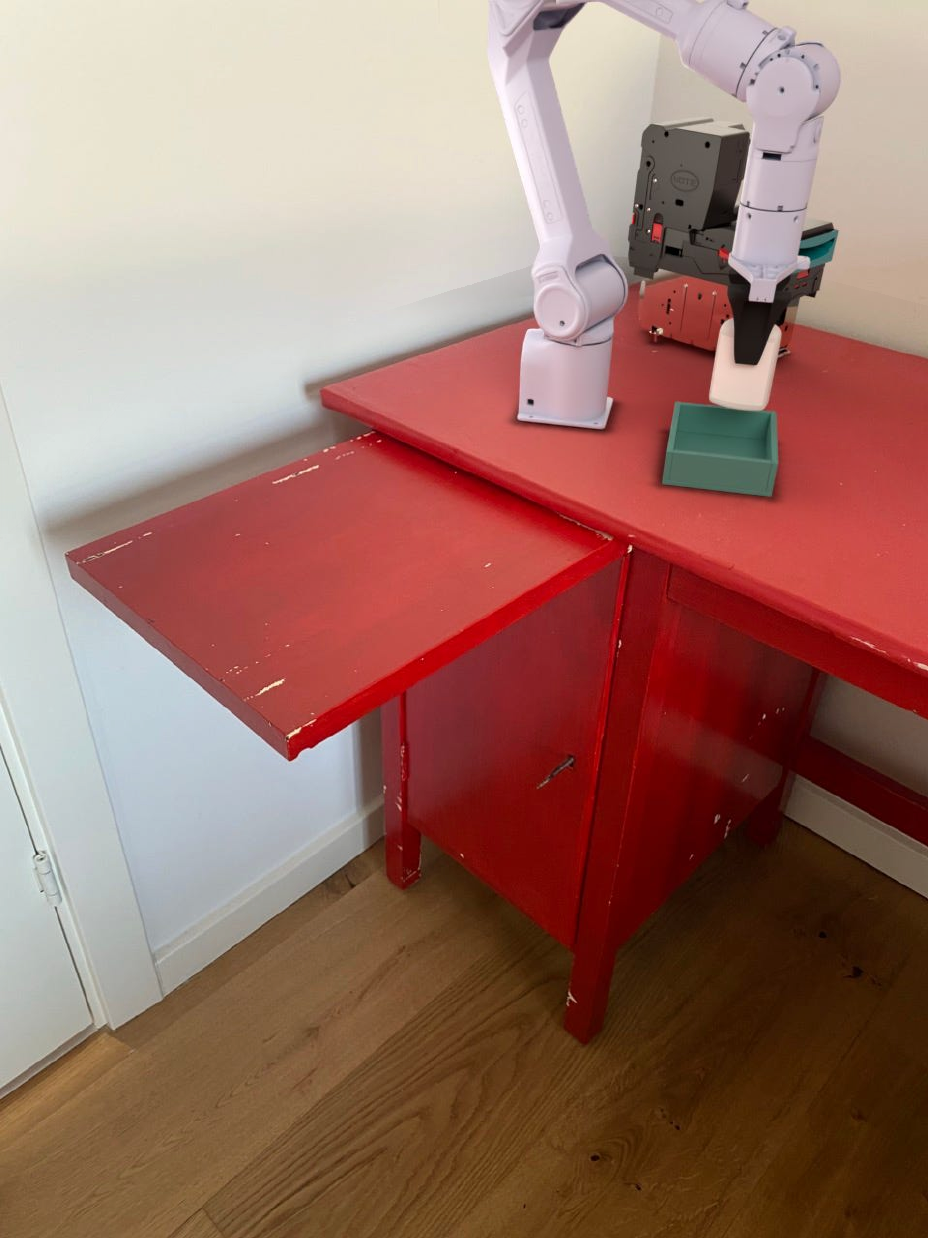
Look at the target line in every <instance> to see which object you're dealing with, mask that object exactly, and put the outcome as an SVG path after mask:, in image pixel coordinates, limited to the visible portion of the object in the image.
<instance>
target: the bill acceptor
mask: <svg viewBox="0 0 928 1238" xmlns="http://www.w3.org/2000/svg"><path fill="white" fill-rule="evenodd" d="M750 143H751V133H750V130H746V128H745V126H744V124H743V123H740V122H735V121H728V120H719V121H715V120H714V118H712V117H707V116H702V115H700V116H694V117H687V118H680V119H674V120H667V121H661V122H655V123H650V124H649V125H648V126H647V127H646V128H645V129H643V132H642V134H641V140H640V147H641V151H640V152H641V153H640V160H639V168H638V170H637V173H636V179H635V180H636V182H635V191H634V199H633V206H632V213H633V214H631V215H632V216H631V217H632V218H631V223H630V224H629V225H628V233H627V235H628V236H627V241H628V253H627V257H628V265H629V267H630V268H633V275H634V276H638V277H641V278H644V280H642V281H641V282H640V289H639V299H638V305H637V315H636V316H637V317H638V318H639V321H638V323H639V328H640V329H644V330H647V331H649V334H650V335H654V336H653V342H655V343H657V342H658V337H660V336H661V337H664V338H668V339H672V340H674V341H677V342H680V343H684V344H687V345H693V346H695V347H698V348H701V349H703V350H707V351H711V352H715V353H716V350H717V344H718V338H719V333H720V329H721V327H722V325H723V324H724V323H725V322H726V321H727V320H729V319H732V318H733V313H732V309H731V305H730V302H729V299H728V296H727V287H728V284H731V283H730V280H729V277H728V270H729V269H731V268H732V267H731V266H730V265H729V263H728V259H729V254H730V253H731V252H732V249H733V243H734V237H735V231H736V224H737V218H738V212H739V205H740V200H738V196H739V193H740V190H741V187H742V182H743V181H744V175H745V169H746V163H747V157H748V151H749V146H750ZM839 231H840V230H839V229H836V228H835V227H834V223H833V222H831V221H827V220H823V219H822V220H821V219H816V218H811V217H806V216H805V221H804V226H803V231H802V236H801V241H800V246H799V251H798V256H806V257H809V258H810V266H809V269H807V270H799V269H798V270H795V271H794V272H793V273H791V274H790V275H791V278H790V281H789V282H788V284H787V285H786V286H785V288H784V289H783V291H784V292H792V299H791V301H790V303H789V305H788V306H787V307H786V308H785V310H784V311H783V312H782V314H781V315H780V317H779V318H778V320H777V321H776V323H775V325H777V326H778V327H779V328H780V330H781V341H780V347H779V352H778V357H777V360H778V359H780V358H782V357H784V356H787V355H789V354H791V351H790V350H788V349H787V347H788V346H789V344H790V343H791V340H792V339H793V338H792V337H793V333H794V328H795V323H796V319H797V314H798V309H799V304H800V301H801V300H800V299H801V298H802V297H805V296H806V297H809V298H815V299H816V297H817V292H818V291H821V290H820V288H821V285H822V279H823V277H824V276H823V275H824V270H825V267H826V263H830V262H832V261H833V257H834V253H835V249H836V245H837V240H838V236H839Z"/></svg>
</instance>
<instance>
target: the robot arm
mask: <svg viewBox="0 0 928 1238" xmlns="http://www.w3.org/2000/svg"><path fill="white" fill-rule="evenodd" d="M487 2H488V20H487V21H488V23H487V24H488V26H487V42H486V43H487V44H486V46H487V47H486V55H487V62H488V66H489V67H488V68H489V70H490V74H491V77H492V82H493V84H494V88H495V92H496V95H497V98H498V102H499V107H500V109H501V113H502V117H503V119H504V123H505V127H506V131H507V134H508V138H509V141H510V145H511V148H512V151H513V155H514V159H515V162H516V166H517V170H518V173H519V177H520V180H521V184H522V187H523V191H524V194H525V198H526V202H527V205H528V208H529V211H530V216H531V220H532V223H533V227H534V230H535V233H536V237H537V241H538V245H539V249H538V252H537V255H536V258H535V260H534V262H533V265H532V268H531V272H530V275H531V279H532V282H533V288H534V295H533V304H532V305H533V315H534V318H535V320H536V323H537V325H538V326H539V328H528V329H527V330H526V332H525V335H524V339H523V341H522V349H521V350H522V351H521V357H520V373H519V374H520V375H519V399H518V414H517V420H518V421H520V422H530V423H538V424H547V425H548V424H549V425H557V426H567V427H575V428H585V429H593V430H594V429H595V430H604V429H605V428H606V426H607V422H608V420H609V416H610V413H611V410H612V407H613V403H614V399H613V398H612V397H610V396H608V391H609V382H610V370H611V361H612V352H613V351H612V350H613V342H614V331H615V330H614V329H615V328H614V326H615V325H614V324H615V316H617V315H618V314H619V313H620V312H621V311H622V310H623V309H624V308H625V305H626V303H627V300H628V297H629V284H628V280H627V277H626V275H625V273H624V271H623V269H622V268H621V267H620V266H619V265H618V263H617V262H616V260H615V259H614V256H613V254H612V251H611V247H610V243H609V242H608V241H607V240H606V239H605V238H604V237H603V236H601V235H600V234H599V233H598V232H597V231H596V230H595V229H594V228H593V226H592V222H591V218H590V215H589V210H588V207H587V202H586V199H585V194H584V190H583V187H582V183H581V180H580V175H579V172H578V168H577V165H576V161H575V157H574V153H573V149H572V145H571V141H570V138H569V134H568V130H567V126H566V121H565V118H564V114H563V111H562V107H561V104H560V98H559V95H558V91H557V88H556V84H555V79H554V76H553V72H552V68H551V65H550V58H551V55H552V53H553V51H554V49H555V47H556V45H557V43H558V41H559V39H560V37H561V35H562V33H563V31H564V30H565V29H566V28H567V27H568V26H569V24H571V22H572V21H573V20H574V19H575V18H576V16H577V15H578V14H579V13H581V11H582V10H583V9H584V7H586V5H587V4H588V3H602V4H604V5H606V6H608V7H609V8H612V9H614V10H615V11H617V12H618V13H621V14H623V15H624V16H626V17H628V18H630V19H632V20H633V21H636V22H638V23H639V24H641V25H642V26H643V25H644V26H645V27H647V28H649V29H651V30H653V31H654V32H656V33H658V34H660V35H662V36H664V37H666V38H668V39H669V40H671V41H673V42H675V43H676V45H677V49H678V54H679V58H680V62H681V64H682V66H683V67H684V68H686V69H687V70H689V71H691V72H692V73H694V74H695V75H697V76H699V77H700V78H701V79H704V80H706V81H707V82H708V83H711V84H712V85H713V86H715V87H717V88H719V89H720V90H722V91H723V92H725V93H726V94H728V95H730V96H732V97H733V98H734V99H737V100H738V101H740V102H742V103H746V105H747V109H748V112H749V114H750V115H751V117H752V120H753V125H752V132H751V135H750V140H751V143H750V146H749V151H748V157H747V163H746V169H745V175H744V179H743V181H742V182H743V183H742V188H741V193H740V200H739V201H740V205H739V212H738V218H737V224H736V231H735V237H734V243H733V249H732V252H731V253H730V254H729V259H728V263H729V265H730V266H731V267H732V268H731V269H729V270H728V277H729V280H730V283H731V284H728V287H727V296H728V299H729V302H730V305H731V309H732V313H733V320H734V360H735V363H736V364H746V365H757V364H758V362H759V360H760V358H761V356H762V354H763V351H764V349H765V346H766V344H767V341H768V339H769V336H770V334H771V331H772V329H773V327H774V325H775V323H776V321H777V320H778V318H779V317H780V315H781V314H782V312H783V311H784V310H785V308H786V307H787V306H788V305H789V303H790V301H791V299H792V292H784V291H783V289H784V288H785V286H786V285H787V284H788V282H789V281H790V278H791V275H790V274H791V273H793V272H794V271H795V270H798V269H799V270H807V269H809V266H810V258H809V257H806V256H798V251H799V246H800V241H801V236H802V231H803V226H804V221H805V217H806V216H807V211H808V207H809V201H810V196H811V190H812V186H813V181H814V176H815V171H816V168H817V167H816V166H817V161H818V157H819V151H820V148H819V147H820V141H821V135H822V131H823V126H824V122H825V121H824V120H825V115H822V114H823V113H825V112H826V111H827V110H828V109H829V108H830V107H831V105H832V104H833V103H834V101H835V100H836V98H837V96H838V93H839V91H840V87H841V81H842V73H841V66H840V63H839V61H838V59H837V58H836V56H835V54H834V53H833V52H832V51H830V50H829V49H828V48H827V47H826V45H825V44H824V43H823V42H822V41H819V40H805V41H801V42H799V43H796V39H795V38H796V36H797V33H798V31H797V30H796V29H794V28H793V27H792V26H790V25H784V26H782V27H781V28H779V27H778V26H776V25H774V24H773V23H771V22H769V21H767V20H765V19H764V18H762V17H760V16H759V15H757V14H755V13H754V12H752V11H750V10H749V9H748V6H749V4H750V0H703V1H701V2H699V1H698V0H487ZM820 115H821V116H820Z"/></svg>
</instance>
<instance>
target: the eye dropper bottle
mask: <svg viewBox="0 0 928 1238" xmlns="http://www.w3.org/2000/svg"><path fill="white" fill-rule="evenodd" d="M780 341H781V330H780V328H779V327H778V326H777V325H774V327H773V329H772V331H771V334H770V336H769V339H768V341H767V344H766V346H765V349H764V351H763V354H762V356H761V358H760V360H759V362H758V364H757V365H746V364H736V363H735V360H734V320H733V318H732V319H729V320H727V321H726V322H725V323H724V324H723V325H722V327H721V329H720V333H719V338H718V344H717V350H716V352H715V356H714V363H713V368H712V373H711V374H712V375H711V381H710V386H709V387H710V388H709V394H708V399H709V402H710V403H712V404H713V405H715V406H722V407H726V408H730V409H735V410H742V411H762V410H765V409H766V407H767V406H768V404H769V401H770V396H771V392H772V388H773V387H772V386H773V383H774V377H775V376H774V375H775V372H776V367H777V362H778V359H777V357H778V352H779V347H780Z"/></svg>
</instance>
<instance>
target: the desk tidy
mask: <svg viewBox="0 0 928 1238" xmlns="http://www.w3.org/2000/svg"><path fill="white" fill-rule="evenodd" d="M672 412H673V413H672V419H671V424H670V429H669V436H668V440H667V447H666V451H665V452H666V453H665V459H664V466H663V474H662V481H661V482H662V483H661V485H665V486H672V487H673V486H674V487H682V488H690V489H700V490H708V491H715V492H716V491H717V492H725V493H732V494H733V493H734V494H735V493H736V494H742V495H751V496H758V497H759V496H761V497H767V498H772V496H773V490H774V486H775V481H776V478H777V474H778V473H777V472H778V468H779V442H778V441H779V439H778V438H779V437H778V416H777V415H778V414H777V413H778V412H777V411H773V410H765V409H763V410H762V411H742V410H735V409H730V408H726V407H722V406H719V405H716V404H705V403H704V404H703V403H695V402H683V401H675V402H674V407H673V411H672Z"/></svg>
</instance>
